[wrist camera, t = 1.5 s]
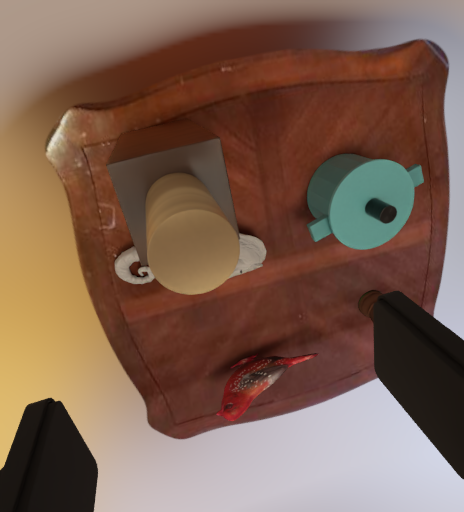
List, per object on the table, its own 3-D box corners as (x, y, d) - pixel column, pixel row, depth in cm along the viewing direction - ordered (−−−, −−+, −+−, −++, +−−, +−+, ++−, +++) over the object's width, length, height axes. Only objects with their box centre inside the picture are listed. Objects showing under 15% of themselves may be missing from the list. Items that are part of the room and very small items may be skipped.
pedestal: (120, 133, 42) (105, 164, 24) (187, 118, 43) (219, 137, 25) (141, 198, 46) (141, 266, 28) (202, 183, 47) (240, 239, 29)
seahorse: (136, 316, 51) (273, 279, 50) (97, 264, 43) (261, 219, 42) (137, 287, 54) (265, 253, 54) (101, 234, 46) (252, 193, 45)
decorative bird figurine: (203, 371, 59) (214, 420, 50) (300, 324, 60) (327, 364, 51) (210, 382, 61) (222, 432, 52) (305, 336, 61) (332, 377, 52)
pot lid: (313, 187, 43) (330, 196, 39) (397, 140, 43) (422, 145, 39) (341, 261, 48) (358, 276, 44) (416, 219, 48) (440, 230, 44)
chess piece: (387, 295, 62) (429, 330, 53) (369, 319, 63) (407, 356, 54) (369, 286, 60) (408, 320, 51) (351, 310, 61) (386, 347, 52)
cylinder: (136, 181, 25) (134, 223, 17) (203, 165, 26) (230, 198, 18) (156, 243, 27) (162, 305, 19) (217, 226, 28) (247, 280, 20)
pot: (279, 186, 49) (300, 201, 42) (380, 129, 49) (418, 135, 42) (304, 246, 54) (327, 268, 47) (397, 195, 54) (433, 209, 47)
